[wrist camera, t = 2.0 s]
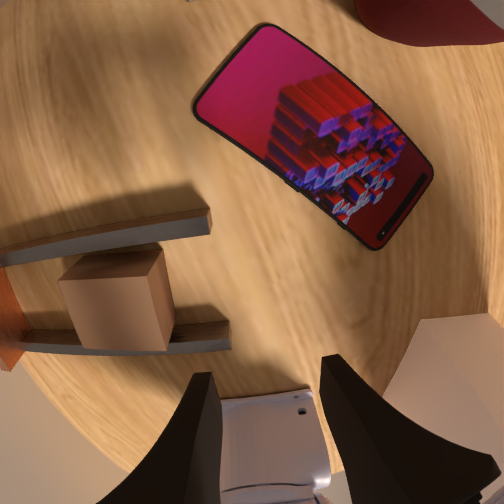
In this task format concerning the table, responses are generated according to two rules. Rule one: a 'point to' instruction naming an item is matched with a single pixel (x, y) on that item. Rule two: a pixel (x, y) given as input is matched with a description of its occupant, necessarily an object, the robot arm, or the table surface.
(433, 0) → the mug
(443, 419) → the milk
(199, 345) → the guide lane
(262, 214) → the table surface
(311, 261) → the table surface
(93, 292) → the block
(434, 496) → the robot arm
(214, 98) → the smartphone
